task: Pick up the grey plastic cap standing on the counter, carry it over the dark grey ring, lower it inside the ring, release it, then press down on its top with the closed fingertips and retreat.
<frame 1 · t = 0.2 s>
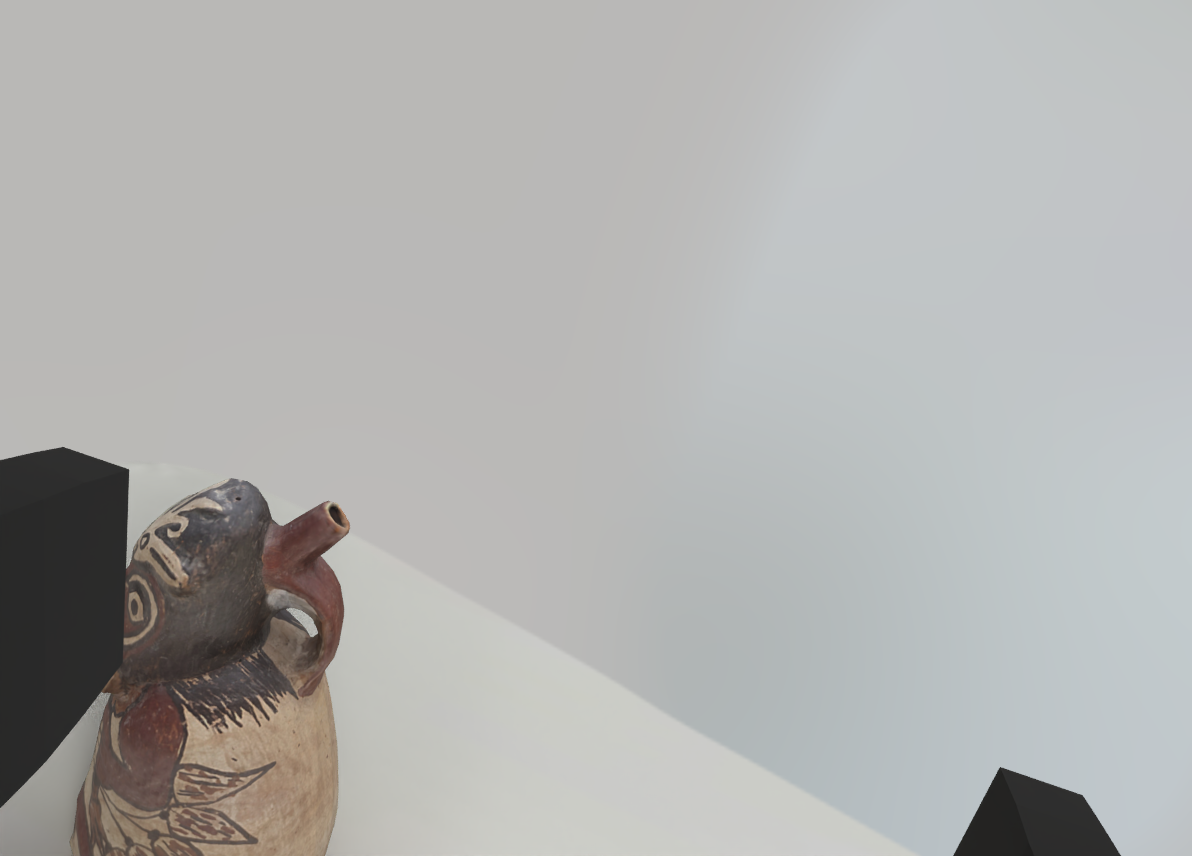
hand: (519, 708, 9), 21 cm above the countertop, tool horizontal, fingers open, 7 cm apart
figurine: (205, 847, 32), on the countertop
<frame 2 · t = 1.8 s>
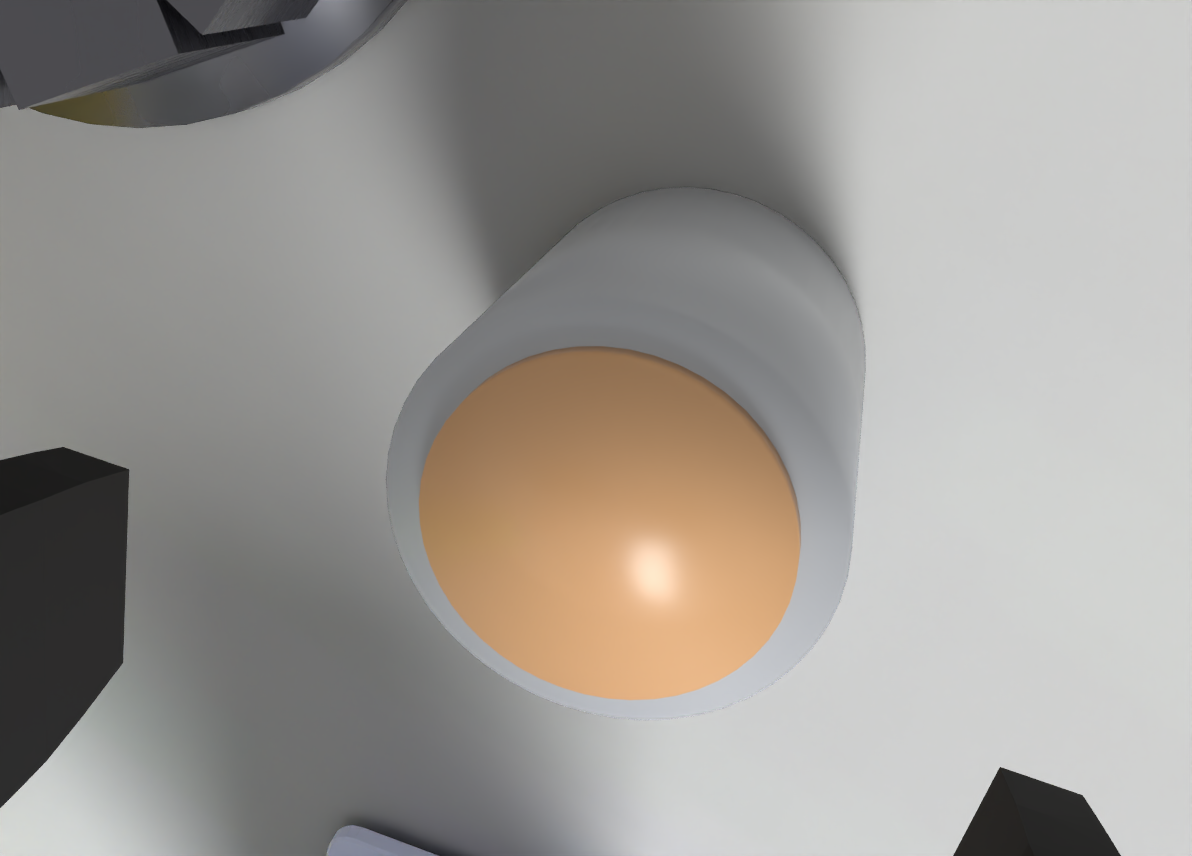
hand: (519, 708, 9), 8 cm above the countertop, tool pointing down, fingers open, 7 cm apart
cap: (688, 359, 16), on the countertop
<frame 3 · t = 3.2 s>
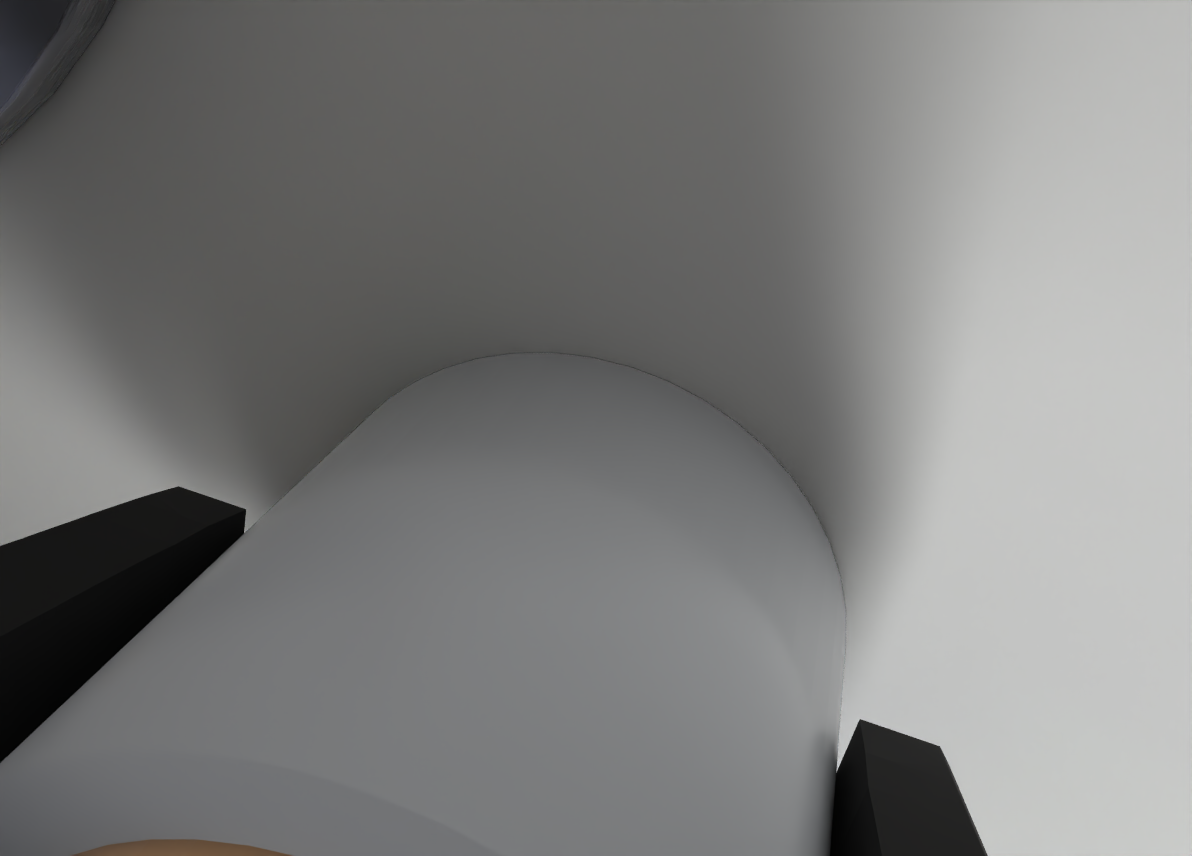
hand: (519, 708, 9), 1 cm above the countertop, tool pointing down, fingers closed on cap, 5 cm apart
cap: (566, 609, 10), on the countertop, touching gripper
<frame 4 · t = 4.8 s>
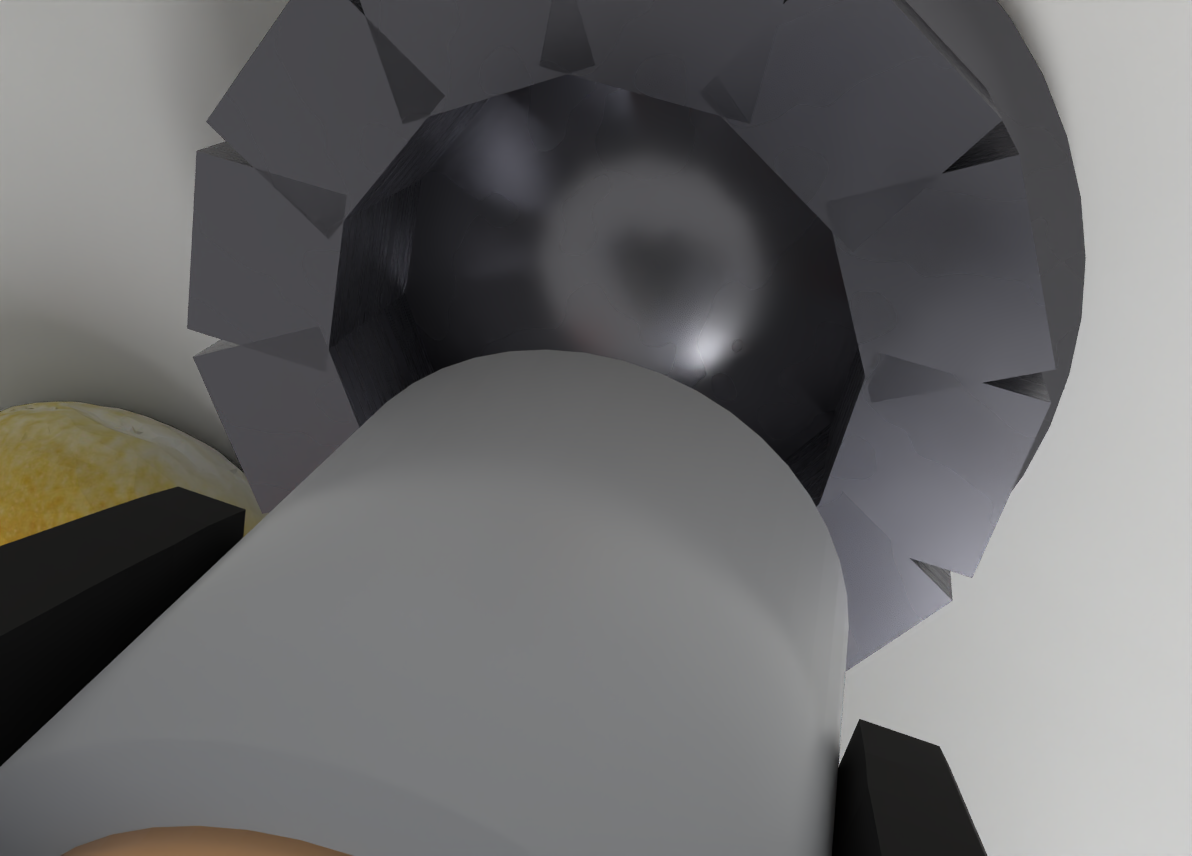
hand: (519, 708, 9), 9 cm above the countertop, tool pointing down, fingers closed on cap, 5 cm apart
cap: (570, 605, 10), point 7 cm above the countertop, touching gripper
bread roll: (140, 595, 22), on the countertop
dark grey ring: (635, 288, 16), on the countertop
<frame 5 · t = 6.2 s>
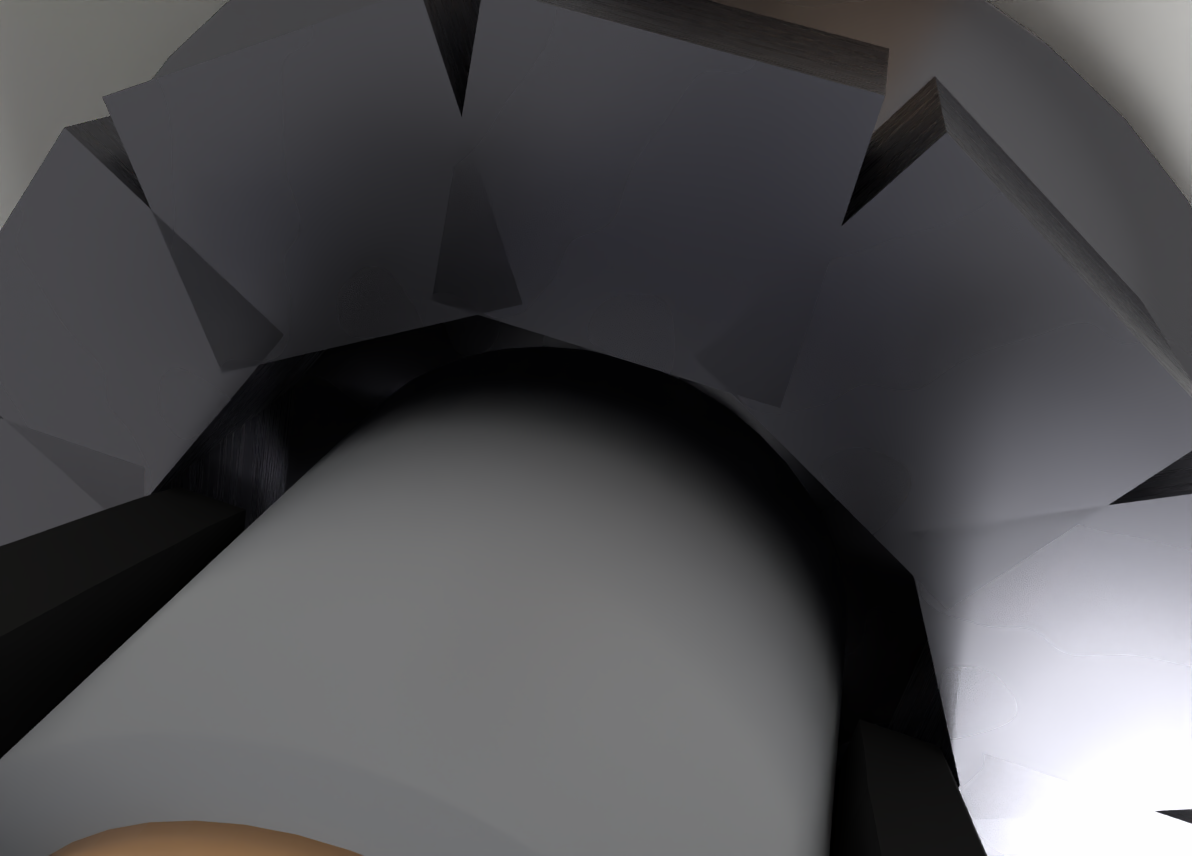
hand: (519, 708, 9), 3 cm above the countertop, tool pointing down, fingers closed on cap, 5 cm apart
cap: (569, 602, 10), point 1 cm above the countertop, touching gripper
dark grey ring: (604, 531, 12), on the countertop
when the fingers open (3 cm above the countertop, at t = 7.4 s): cap stays where it is, resting on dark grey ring.
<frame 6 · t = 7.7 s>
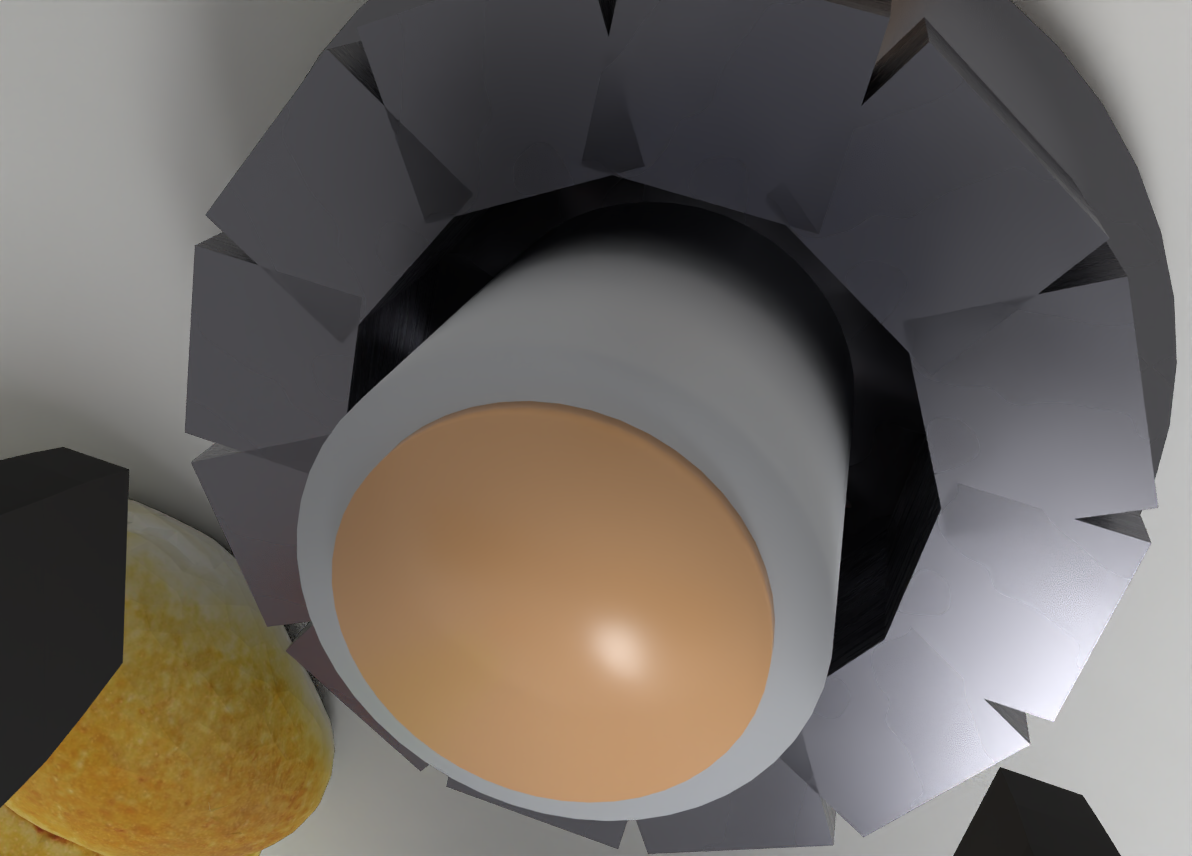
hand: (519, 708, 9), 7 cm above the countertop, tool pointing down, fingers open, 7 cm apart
cap: (657, 393, 14), point 1 cm above the countertop, touching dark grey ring
bread roll: (131, 678, 21), on the countertop
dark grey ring: (672, 377, 15), on the countertop
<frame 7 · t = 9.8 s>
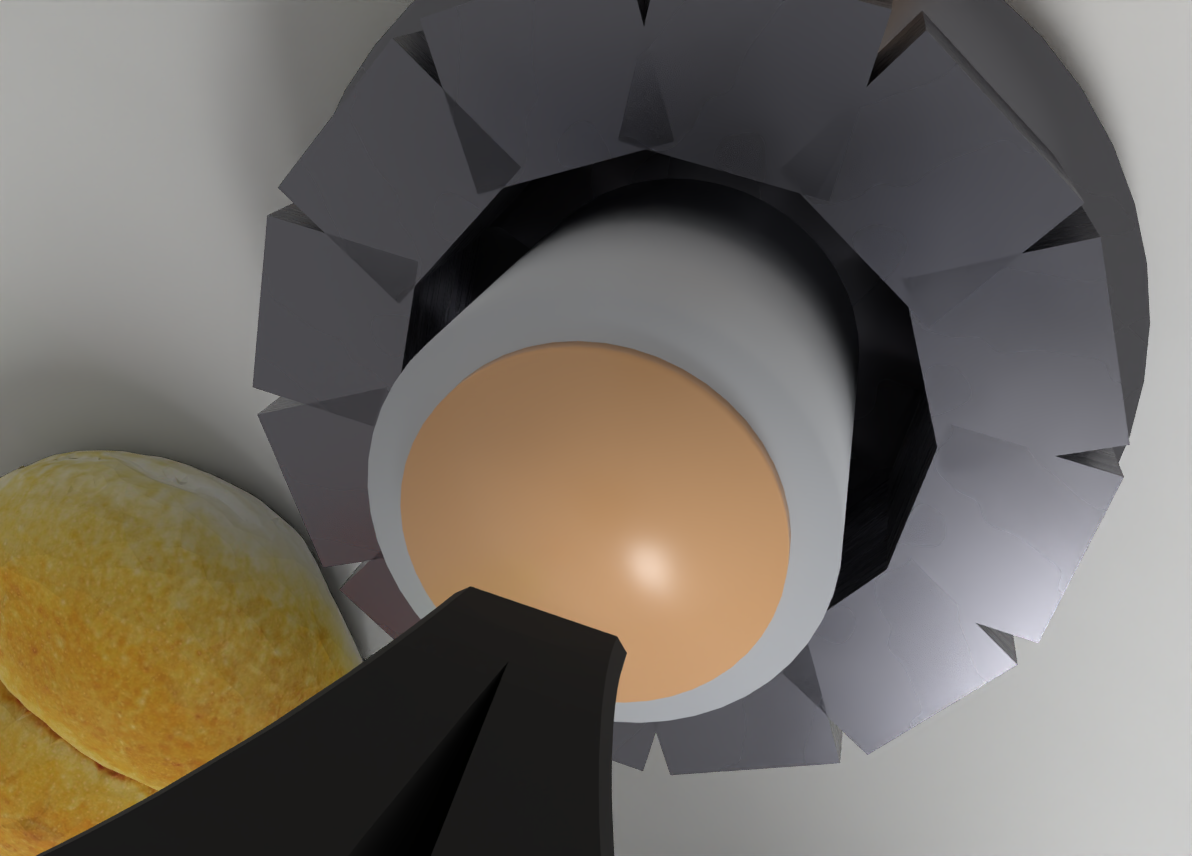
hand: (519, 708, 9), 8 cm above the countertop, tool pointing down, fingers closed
cap: (678, 354, 16), point 1 cm above the countertop, touching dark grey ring
bread roll: (178, 635, 22), on the countertop
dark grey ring: (692, 341, 16), on the countertop
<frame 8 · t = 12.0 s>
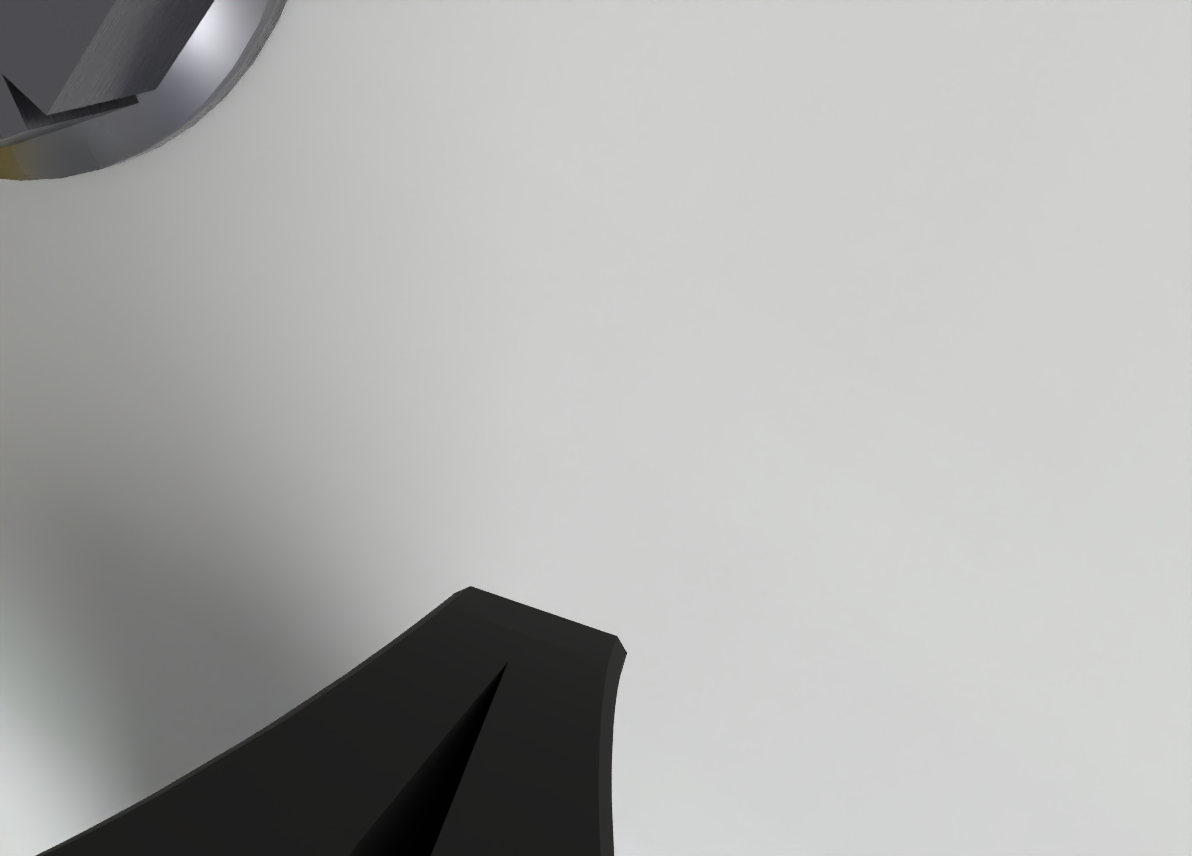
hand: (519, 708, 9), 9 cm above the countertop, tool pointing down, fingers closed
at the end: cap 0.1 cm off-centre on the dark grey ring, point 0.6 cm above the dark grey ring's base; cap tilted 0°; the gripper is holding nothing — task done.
